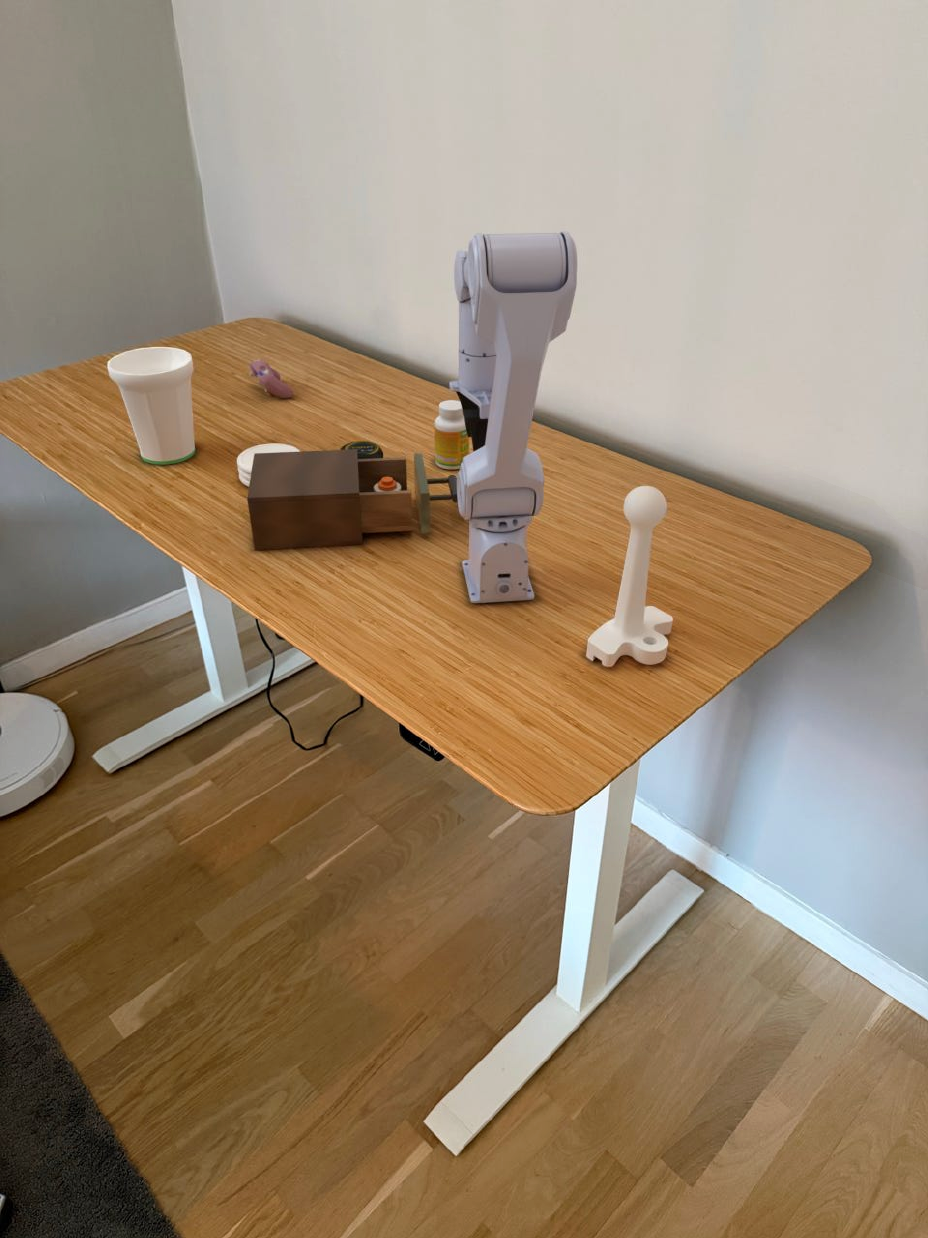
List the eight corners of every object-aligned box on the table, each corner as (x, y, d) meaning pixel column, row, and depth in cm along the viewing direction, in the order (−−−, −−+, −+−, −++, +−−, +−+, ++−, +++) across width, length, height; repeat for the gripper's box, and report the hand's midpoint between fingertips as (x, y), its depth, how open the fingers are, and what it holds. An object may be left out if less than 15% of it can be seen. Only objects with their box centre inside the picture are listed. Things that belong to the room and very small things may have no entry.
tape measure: (338, 480, 136) (336, 458, 134) (342, 461, 142) (340, 439, 139) (383, 480, 136) (382, 458, 134) (385, 460, 142) (384, 439, 140)
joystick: (642, 616, 108) (666, 465, 96) (692, 646, 103) (723, 491, 91) (578, 651, 102) (594, 495, 90) (627, 684, 97) (651, 524, 86)
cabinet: (360, 498, 132) (356, 448, 127) (362, 544, 121) (359, 492, 116) (261, 502, 130) (254, 453, 125) (254, 550, 119) (247, 497, 115)
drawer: (454, 490, 132) (454, 451, 128) (464, 531, 122) (464, 491, 119) (331, 496, 130) (328, 457, 127) (331, 538, 120) (327, 497, 117)
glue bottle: (402, 513, 124) (401, 484, 122) (375, 514, 124) (373, 486, 121) (400, 500, 127) (400, 472, 125) (374, 501, 127) (372, 473, 124)
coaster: (227, 474, 137) (224, 453, 135) (283, 456, 143) (281, 436, 141) (260, 498, 131) (257, 476, 129) (317, 479, 136) (315, 458, 134)
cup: (111, 464, 140) (88, 369, 131) (156, 433, 149) (138, 342, 141) (181, 475, 137) (163, 379, 128) (222, 443, 147) (207, 351, 138)
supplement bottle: (465, 472, 139) (465, 413, 133) (431, 468, 140) (430, 409, 134) (471, 457, 143) (472, 399, 137) (439, 454, 144) (438, 396, 138)
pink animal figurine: (261, 391, 169) (240, 361, 164) (281, 377, 169) (261, 347, 165) (275, 409, 162) (254, 379, 157) (296, 395, 162) (275, 364, 157)
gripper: (443, 332, 119) (443, 427, 127) (457, 370, 108) (456, 472, 116) (495, 330, 120) (492, 425, 128) (514, 368, 108) (510, 470, 116)
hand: (478, 447), depth 122 cm, fingers open, 7 cm apart
